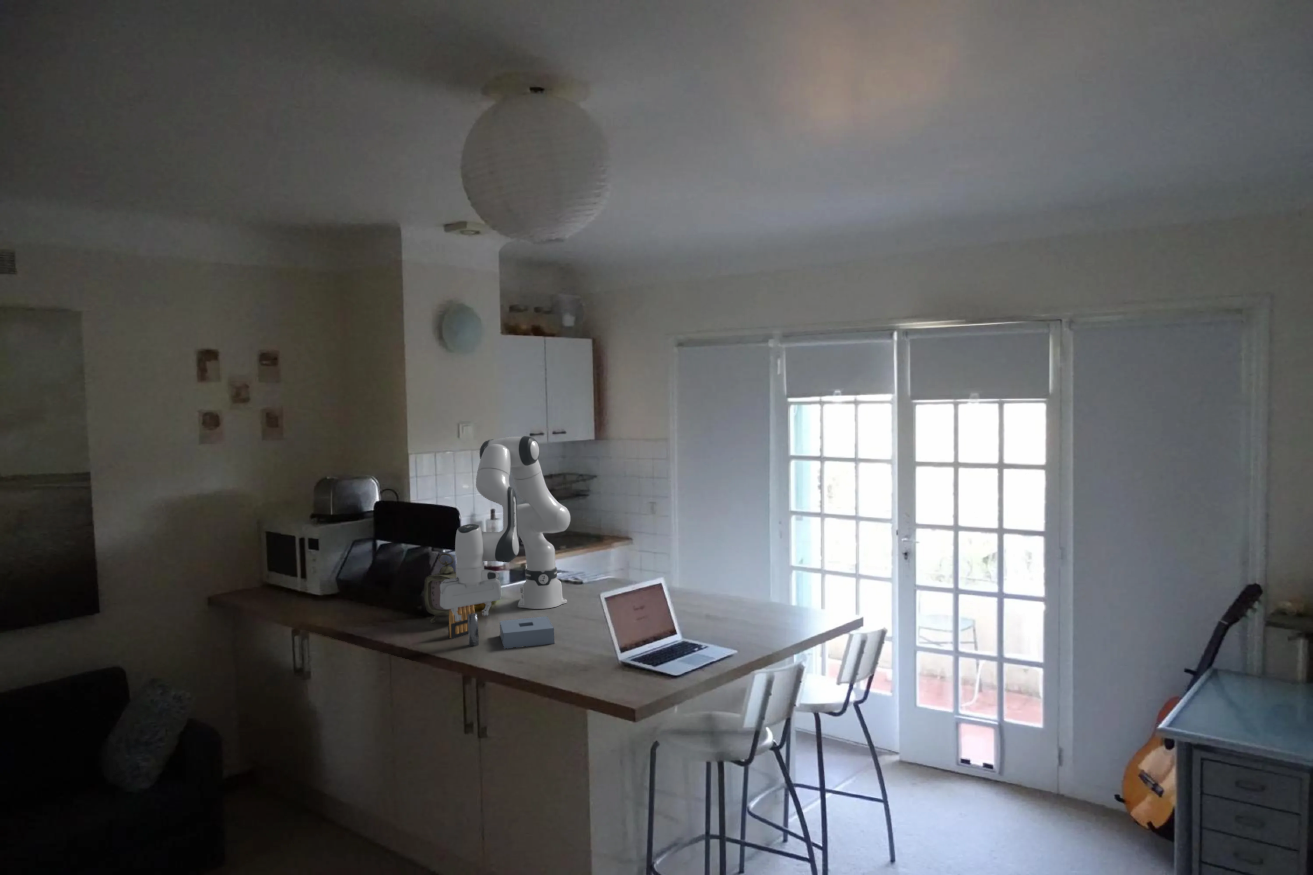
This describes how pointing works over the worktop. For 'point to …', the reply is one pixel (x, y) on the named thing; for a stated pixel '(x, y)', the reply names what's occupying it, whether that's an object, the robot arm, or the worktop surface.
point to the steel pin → (473, 629)
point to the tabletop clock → (437, 589)
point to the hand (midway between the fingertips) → (471, 618)
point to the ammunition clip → (459, 622)
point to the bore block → (526, 632)
